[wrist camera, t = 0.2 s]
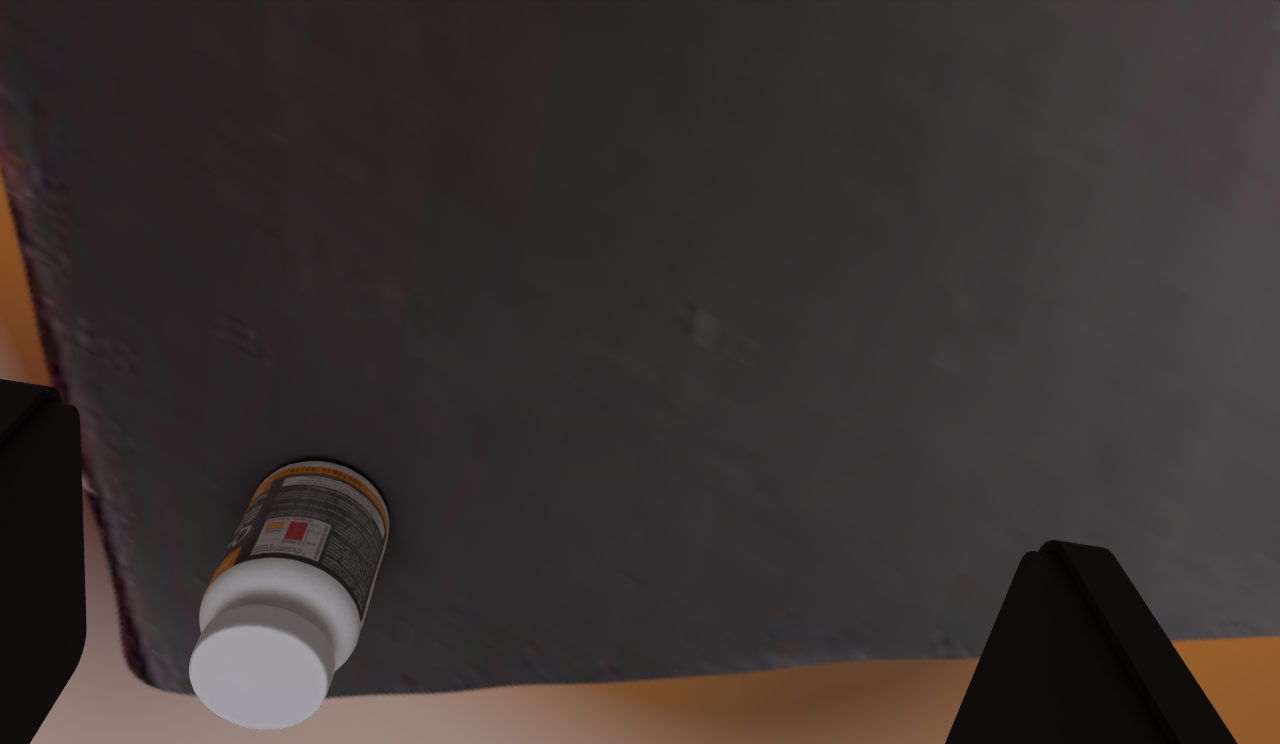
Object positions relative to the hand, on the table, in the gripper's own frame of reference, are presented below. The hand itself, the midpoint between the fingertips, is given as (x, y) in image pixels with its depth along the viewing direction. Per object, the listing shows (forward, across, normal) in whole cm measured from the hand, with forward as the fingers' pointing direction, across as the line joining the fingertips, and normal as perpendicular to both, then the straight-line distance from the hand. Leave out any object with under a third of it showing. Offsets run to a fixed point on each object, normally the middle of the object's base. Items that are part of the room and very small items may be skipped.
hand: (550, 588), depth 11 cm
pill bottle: (+31, +8, +21) cm, 38 cm away
